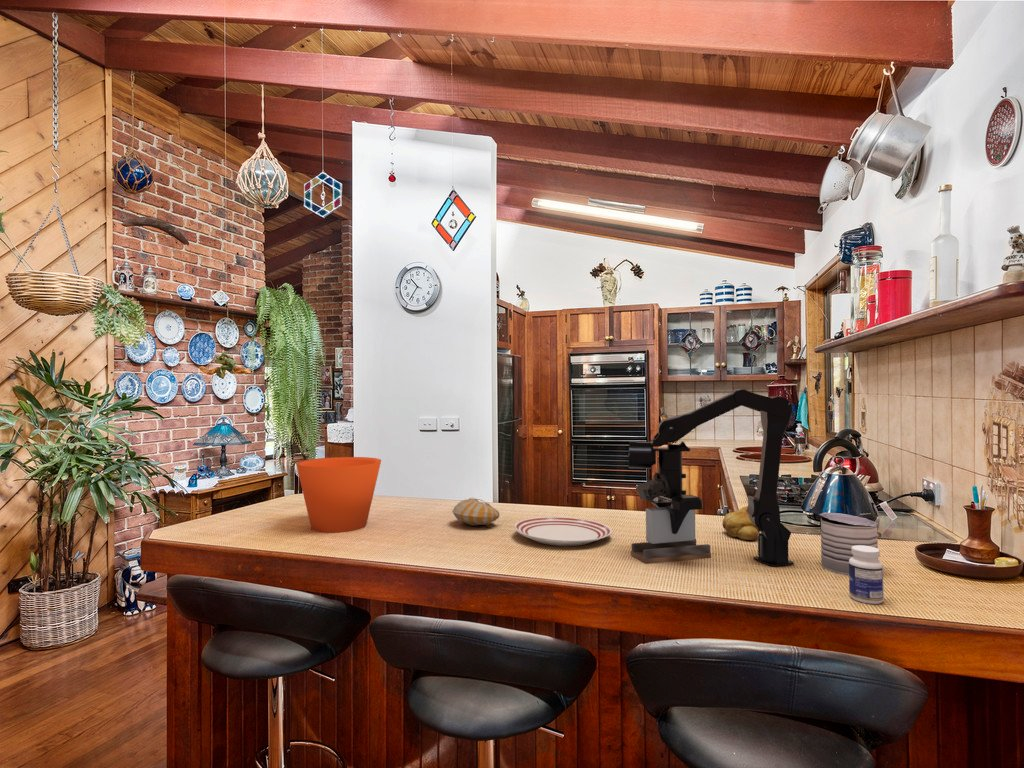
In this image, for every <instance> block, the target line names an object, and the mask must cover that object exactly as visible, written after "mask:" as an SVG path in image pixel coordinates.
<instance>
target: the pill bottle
mask: <svg viewBox="0 0 1024 768" xmlns="http://www.w3.org/2000/svg"><path fill="white" fill-rule="evenodd" d="M880 552H881V551H880V549H879V548H878V549H877V548H875V547H871V546H864V545H856V546H852V547H851V553H852V554H853V557H851V558H850V559H849V575H848V584H849V585H848V587H849V588H848V589H849V590H848V591H849V593H848V594H849V597H850V598H851V599H853V600H855V601H857V602H859V603H860V602H861V603H864V604H869V605H877V604H881V603H884V600H885V593H884V587H885V586H884V585H885V584H884V565H883V563H882V562H881V561H880V560H879V558H880V556H881V555H880V554H881V553H880Z"/></svg>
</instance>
